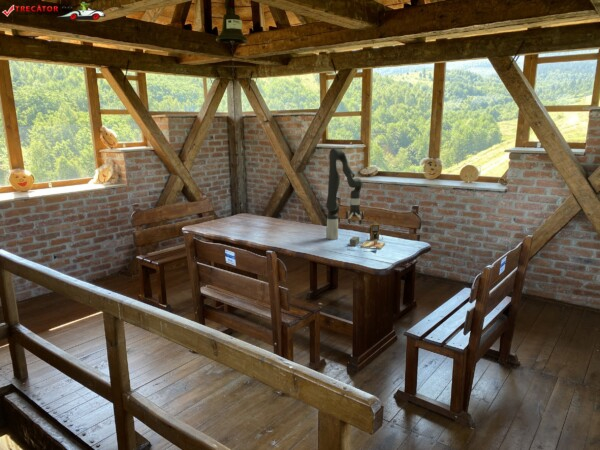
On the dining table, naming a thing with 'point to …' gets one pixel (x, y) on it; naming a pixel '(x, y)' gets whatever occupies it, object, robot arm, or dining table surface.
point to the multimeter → (374, 230)
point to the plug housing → (354, 241)
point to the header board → (373, 244)
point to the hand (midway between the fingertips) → (354, 224)
